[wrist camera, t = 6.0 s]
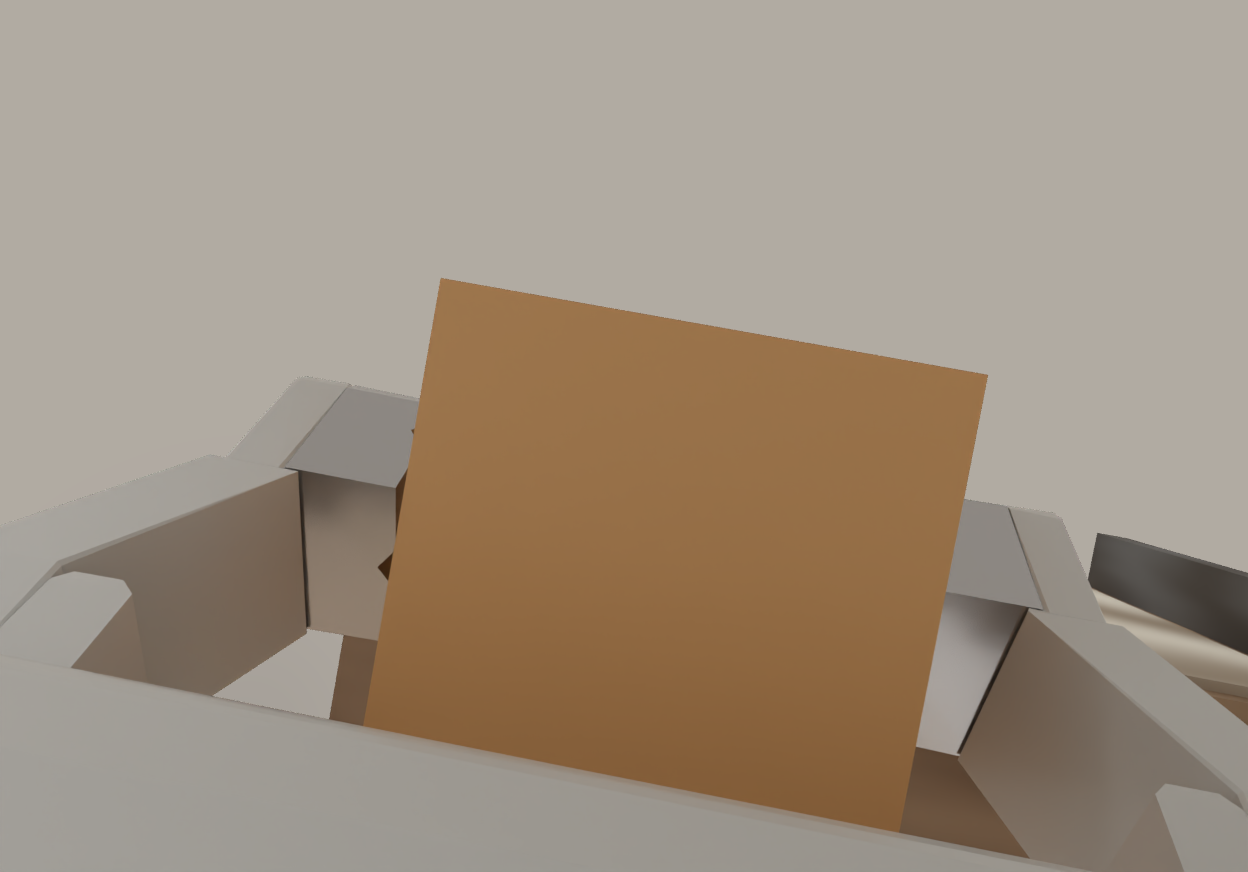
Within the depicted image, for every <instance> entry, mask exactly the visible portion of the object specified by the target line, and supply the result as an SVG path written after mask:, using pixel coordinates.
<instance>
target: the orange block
mask: <svg viewBox="0 0 1248 872" xmlns="http://www.w3.org/2000/svg"><path fill="white" fill-rule="evenodd" d="M987 378H988V375H985V374H979V373H974V372H968V371H963V370H957V369H951V368H946V367H940V366H935V365H929V364H924V363H918V362H912V361H906V360H901V359H895V358H890V357H884V356H878V355H873V354H867V353H861V352H856V351H850V350H844V349H839V348H833V347H827V346H822V345H816V344H811V343H804V342H799V341H793V340H788V339H782V338H777V337H771V336H764V335H760V334H754V333H748V332H743V331H737V330H731V329H725V328H720V327H714V326H708V325H703V324H698V323H691V322H686V321H681V320H675V319H669V318H664V317H658V316H652V315H647V314H641V313H635V312H630V311H624V310H618V309H612V308H606V307H602V306H596V305H590V304H585V303H579V302H573V301H568V300H562V299H556V298H550V297H545V296H539V295H534V294H528V293H522V292H517V291H510V290H505V289H500V288H494V287H488V286H483V285H477V284H472V283H466V282H460V281H455V280H449V279H443V278H441V280H440V286H439V291H438V297H437V303H436V308H435V314H434V320H433V326H432V331H431V337H430V343H429V349H428V355H427V361H426V366H425V372H424V378H423V383H422V389H421V395H420V401H419V406H418V412H417V418H416V424H415V429H414V435H413V441H412V447H411V453H410V458H409V464H408V470H407V476H406V481H405V487H404V493H403V499H402V504H401V510H400V516H399V522H398V528H397V533H396V539H395V545H394V551H393V556H392V562H391V568H390V574H389V579H388V585H387V591H386V597H385V603H384V608H383V614H382V620H381V626H380V631H379V637H378V643H377V649H376V655H375V660H374V666H373V672H372V678H371V683H370V689H369V695H368V701H367V706H366V712H365V718H364V724H363V726H365V727H370V728H375V729H380V730H385V731H390V732H395V733H400V734H405V735H410V736H415V737H420V738H425V739H430V740H435V741H440V742H445V743H450V744H455V745H460V746H465V747H470V748H475V749H480V750H485V751H490V752H495V753H500V754H505V755H510V756H515V757H520V758H525V759H530V760H535V761H540V762H545V763H550V764H555V765H560V766H565V767H570V768H575V769H580V770H585V771H590V772H595V773H600V774H606V775H611V776H616V777H621V778H626V779H631V780H636V781H641V782H646V783H651V784H656V785H661V786H666V787H671V788H676V789H682V790H687V791H692V792H697V793H702V794H707V795H712V796H717V797H722V798H727V799H732V800H737V801H742V802H747V803H752V804H758V805H763V806H768V807H773V808H778V809H783V810H788V811H793V812H798V813H803V814H808V815H813V816H818V817H823V818H828V819H833V820H838V821H843V822H848V823H853V824H858V825H863V826H868V827H873V828H878V829H883V830H888V831H893V832H898V833H899V830H900V825H901V820H902V815H903V810H904V805H905V800H906V794H907V789H908V784H909V779H910V774H911V769H912V764H913V758H914V753H915V748H916V743H917V738H918V733H919V728H920V722H921V717H922V712H923V707H924V702H925V697H926V692H927V686H928V681H929V676H930V671H931V666H932V661H933V656H934V650H935V645H936V640H937V635H938V630H939V625H940V620H941V614H942V609H943V604H944V599H945V594H946V589H947V583H948V578H949V573H950V568H951V563H952V558H953V553H954V547H955V542H956V537H957V532H958V527H959V522H960V517H961V511H962V506H963V501H964V496H965V490H966V486H967V480H968V475H969V470H970V465H971V459H972V455H973V449H974V444H975V439H976V434H977V429H978V424H979V419H980V414H981V409H982V403H983V398H984V393H985V388H986V382H987Z"/></svg>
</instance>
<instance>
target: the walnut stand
mask: <svg viewBox="0 0 1248 872" xmlns="http://www.w3.org/2000/svg"><path fill="white" fill-rule="evenodd" d="M1088 581H1089V583H1090V586H1091V588H1092V590H1093V593H1094V595H1095V597H1096V600H1097V602H1098V604H1099V607H1100V609H1101V611H1102V614H1103V616H1104V618H1105V621H1106V623H1108V624H1113V625H1119V626H1123V627H1125V628H1126V629H1127V630H1128V631H1130V632H1131V633H1132V634H1133V635H1135V636H1136V637H1137V638H1138V639H1140V640H1141V641H1142V642H1143V643H1145V644H1146V645H1147V646H1148V647H1150V648H1151V649H1152V650H1153V651H1155V652H1156V653H1157V654H1158V655H1160V656H1161V657H1162V658H1163V659H1165V660H1166V661H1167V662H1168V663H1170V664H1171V665H1172V666H1174V667H1175V668H1176V669H1177V670H1179V671H1180V672H1181V673H1182V674H1184V675H1185V676H1186V677H1187V678H1189V679H1190V680H1191V681H1192V682H1194V683H1195V684H1196V685H1197V686H1199V687H1200V688H1201V689H1202V690H1204V691H1205V692H1206V693H1207V694H1209V695H1210V696H1211V697H1212V698H1214V699H1215V700H1216V701H1217V702H1219V703H1220V704H1221V705H1223V706H1224V707H1225V708H1226V709H1228V710H1229V711H1230V712H1231V713H1233V714H1234V715H1235V716H1236V717H1238V718H1239V719H1240V720H1241V721H1243V722H1244V723H1245V724H1246V725H1248V573H1246V572H1243V571H1239V570H1236V569H1232V568H1229V567H1225V566H1222V565H1218V564H1215V563H1211V562H1207V561H1204V560H1201V559H1197V558H1194V557H1190V556H1187V555H1183V554H1180V553H1176V552H1173V551H1169V550H1166V549H1162V548H1158V547H1155V546H1152V545H1148V544H1145V543H1141V542H1138V541H1134V540H1131V539H1127V538H1122V537H1116V536H1111V535H1105V534H1100V533H1097V538H1096V542H1095V548H1094V552H1093V557H1092V562H1091V568H1090V572H1089V577H1088ZM377 643H378V641H377V640H371V639H365V638H359V637H353V636H347V635H344V637H343V642H342V648H341V654H340V660H339V666H338V671H337V677H336V683H335V689H334V694H333V700H332V706H331V712H330V718H329V719H330V720H335V721H340V722H345V723H350V724H355V725H360V726H363V724H364V718H365V712H366V706H367V701H368V695H369V689H370V683H371V678H372V672H373V666H374V660H375V655H376V649H377ZM958 758H959V756H956V755H952V754H947V753H943V752H938V751H934V750H929V749H925V748H920V747H916V748H915V753H914V758H913V764H912V769H911V774H910V779H909V784H908V789H907V794H906V800H905V805H904V810H903V815H902V820H901V825H900V830H899V833H903V834H908V835H913V836H918V837H923V838H928V839H933V840H938V841H943V842H948V843H953V844H958V845H963V846H968V847H973V848H978V849H983V850H988V851H993V852H998V853H1003V854H1008V855H1013V856H1018V857H1023V858H1028V859H1030V858H1029V857H1028V855H1027V854H1026V852H1025V851H1024V850H1023V848H1022V847H1021V846H1020V844H1019V843H1018V842H1017V840H1016V839H1015V837H1014V836H1013V835H1012V833H1011V832H1010V831H1009V829H1008V828H1007V826H1006V825H1005V824H1004V822H1003V821H1002V820H1001V818H1000V817H999V816H998V814H997V813H996V811H995V810H994V809H993V807H992V806H991V805H990V803H989V802H988V801H987V799H986V798H985V796H984V795H983V794H982V792H981V791H980V790H979V788H978V787H977V786H976V784H975V783H974V781H973V780H972V779H971V777H970V776H969V775H968V773H967V772H966V771H965V769H964V768H963V766H962V765H961V764H960V762H959V761H958Z"/></svg>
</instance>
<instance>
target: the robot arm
mask: <svg viewBox="0 0 1248 872" xmlns="http://www.w3.org/2000/svg"><path fill="white" fill-rule="evenodd" d="M419 401H420V398H414V397H410V396H405V395H400V394H395V393H390V392H385V391H380V390H375V389H371V388H366V387H361V386H352V385H351V384H348V383H343V382H336V381H330V380H325V379H319V378H313V377H299V378H297V379H296V380H294V382H293V383H292V384H291V385H290V386H289V387H288V388H287V389H286V390H285V391H284V393H283V394H282V395H281V396H280V397H279V398H278V399H277V400H276V401H275V403H274V404H273V405H272V406H271V407H270V408H269V409H268V410H267V411H266V413H265V414H264V415H263V416H262V417H261V418H260V419H259V420H258V421H257V423H256V424H255V425H254V426H253V427H252V428H251V429H250V431H249V432H248V433H247V434H246V435H245V436H244V437H243V438H242V439H241V440H240V442H239V443H238V444H237V445H236V446H235V447H234V448H233V449H232V451H231V452H230V453H229V454H228V455H227V456H226V457H221V456H215V455H207V456H204V457H202V458H199V459H196V460H193V461H190V462H187V463H184V464H181V465H178V466H175V467H172V468H169V469H166V470H163V471H160V472H157V473H154V474H151V475H148V476H145V477H142V478H139V479H136V480H133V481H130V482H127V483H125V484H121V485H119V486H116V487H112V488H109V489H107V490H104V491H100V492H98V493H95V494H92V495H89V496H86V497H83V498H80V499H77V500H74V501H71V502H68V503H65V504H62V505H59V506H56V507H53V508H50V509H47V510H44V511H41V512H38V513H35V514H32V515H29V516H26V517H23V518H20V519H17V520H14V521H11V522H8V523H5V524H3V525H0V872H1248V725H1246V724H1245V723H1244V722H1243V721H1241V720H1240V719H1239V718H1238V717H1236V716H1235V715H1234V714H1233V713H1231V712H1230V711H1229V710H1228V709H1226V708H1225V707H1224V706H1223V705H1221V704H1220V703H1219V702H1217V701H1216V700H1215V699H1214V698H1212V697H1211V696H1210V695H1209V694H1207V693H1206V692H1205V691H1204V690H1202V689H1201V688H1200V687H1199V686H1197V685H1196V684H1195V683H1194V682H1192V681H1191V680H1190V679H1189V678H1187V677H1186V676H1185V675H1184V674H1182V673H1181V672H1180V671H1179V670H1177V669H1176V668H1175V667H1174V666H1172V665H1171V664H1170V663H1168V662H1167V661H1166V660H1165V659H1163V658H1162V657H1161V656H1160V655H1158V654H1157V653H1156V652H1155V651H1153V650H1152V649H1151V648H1150V647H1148V646H1147V645H1146V644H1145V643H1143V642H1142V641H1141V640H1140V639H1138V638H1137V637H1136V636H1135V635H1133V634H1132V633H1131V632H1130V631H1128V630H1127V629H1126V628H1125V627H1123V626H1119V625H1113V624H1108V623H1106V621H1105V618H1104V616H1103V614H1102V611H1101V609H1100V607H1099V604H1098V602H1097V600H1096V597H1095V595H1094V593H1093V590H1092V588H1091V586H1090V583H1089V581H1088V579H1087V577H1086V574H1085V572H1084V569H1083V567H1082V565H1081V562H1080V560H1079V558H1078V555H1077V553H1076V551H1075V549H1074V546H1073V544H1072V542H1071V539H1070V537H1069V535H1068V532H1067V530H1066V527H1065V525H1064V523H1063V521H1062V519H1061V518H1060V517H1059V516H1057V515H1056V514H1055V513H1053V512H1046V511H1039V510H1032V509H1025V508H1019V507H1012V506H1005V505H998V504H991V503H985V502H979V501H972V500H966V499H964V501H963V506H962V511H961V517H960V522H959V527H958V532H957V537H956V542H955V547H954V553H953V558H952V563H951V568H950V573H949V578H948V583H947V589H946V594H945V599H944V604H943V609H942V614H941V620H940V625H939V630H938V635H937V640H936V645H935V650H934V656H933V661H932V666H931V671H930V676H929V681H928V686H927V692H926V697H925V702H924V707H923V712H922V717H921V722H920V728H919V733H918V738H917V743H916V747H920V748H925V749H929V750H934V751H938V752H943V753H947V754H952V755H956V756H959V758H958V761H959V762H960V764H961V765H962V766H963V768H964V769H965V771H966V772H967V773H968V775H969V776H970V777H971V779H972V780H973V781H974V783H975V784H976V786H977V787H978V788H979V790H980V791H981V792H982V794H983V795H984V796H985V798H986V799H987V801H988V802H989V803H990V805H991V806H992V807H993V809H994V810H995V811H996V813H997V814H998V816H999V817H1000V818H1001V820H1002V821H1003V822H1004V824H1005V825H1006V826H1007V828H1008V829H1009V831H1010V832H1011V833H1012V835H1013V836H1014V837H1015V839H1016V840H1017V842H1018V843H1019V844H1020V846H1021V847H1022V848H1023V850H1024V851H1025V852H1026V854H1027V855H1028V857H1029V858H1030V859H1028V858H1023V857H1018V856H1013V855H1008V854H1003V853H998V852H993V851H988V850H983V849H978V848H973V847H968V846H963V845H958V844H953V843H948V842H943V841H938V840H933V839H928V838H923V837H918V836H913V835H908V834H903V833H898V832H893V831H888V830H883V829H878V828H873V827H868V826H863V825H858V824H853V823H848V822H843V821H838V820H833V819H828V818H823V817H818V816H813V815H808V814H803V813H798V812H793V811H788V810H783V809H778V808H773V807H768V806H763V805H758V804H752V803H747V802H742V801H737V800H732V799H727V798H722V797H717V796H712V795H707V794H702V793H697V792H692V791H687V790H682V789H676V788H671V787H666V786H661V785H656V784H651V783H646V782H641V781H636V780H631V779H626V778H621V777H616V776H611V775H606V774H600V773H595V772H590V771H585V770H580V769H575V768H570V767H565V766H560V765H555V764H550V763H545V762H540V761H535V760H530V759H525V758H520V757H515V756H510V755H505V754H500V753H495V752H490V751H485V750H480V749H475V748H470V747H465V746H460V745H455V744H450V743H445V742H440V741H435V740H430V739H425V738H420V737H415V736H410V735H405V734H400V733H395V732H390V731H385V730H380V729H375V728H370V727H365V726H360V725H355V724H350V723H345V722H340V721H335V720H330V719H324V718H319V717H314V716H309V715H304V714H299V713H294V712H289V711H284V710H279V709H274V708H269V707H264V706H259V705H254V704H249V703H244V702H239V701H234V700H229V699H224V698H219V697H214V696H213V695H214V694H216V693H217V692H218V691H220V690H222V689H223V688H225V687H226V686H228V685H229V684H231V683H232V682H234V681H235V680H237V679H238V678H240V677H241V676H243V675H244V674H246V673H247V672H249V671H250V670H252V669H254V668H255V667H257V666H258V665H259V664H261V663H262V662H264V661H266V660H267V659H269V658H270V657H272V656H273V655H275V654H276V653H278V652H279V651H281V650H282V649H284V648H285V647H287V646H288V645H290V644H291V643H293V642H294V641H296V640H297V639H299V638H300V637H302V636H304V635H305V634H306V633H307V631H306V629H312V630H317V631H323V632H329V633H335V634H341V635H347V636H353V637H359V638H365V639H371V640H377V641H378V637H379V631H380V626H381V620H382V614H383V608H384V603H385V597H386V591H387V585H388V579H389V574H390V568H391V562H392V556H393V551H394V545H395V539H396V533H397V528H398V522H399V516H400V510H401V504H402V499H403V493H404V487H405V481H406V476H407V470H408V464H409V458H410V453H411V447H412V441H413V435H414V429H415V424H416V418H417V412H418V406H419Z"/></svg>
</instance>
